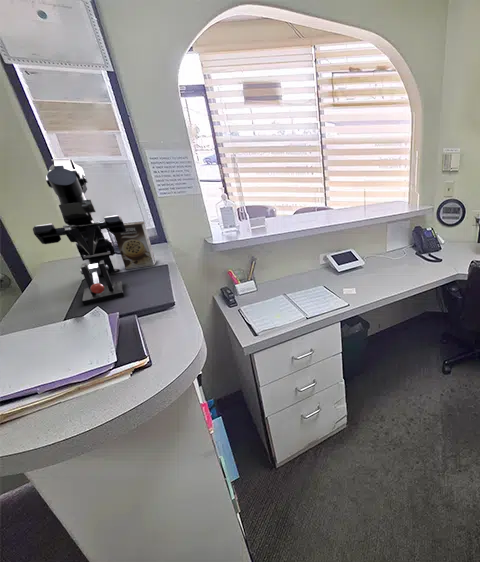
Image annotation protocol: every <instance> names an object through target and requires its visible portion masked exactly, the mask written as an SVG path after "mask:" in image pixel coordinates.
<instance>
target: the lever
mask: <svg viewBox="0 0 480 562" xmlns="http://www.w3.org/2000/svg"><path fill="white" fill-rule="evenodd" d="M87 267H88V270H89V272H90V274H91V277H92V280H93V283H94V284H93V285H92V286H91V287H90V290H91V291H92V292H93V293H96V294H99V293H102V292H103V291H104V286H103V285H104V284H102V283H101V281H100V276H99V275H100V274H101V270H100V267H99V265H98V263H96V264H90V263H89V264H88V265H87Z"/></svg>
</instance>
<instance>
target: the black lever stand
mask: <svg viewBox="0 0 480 562" xmlns="http://www.w3.org/2000/svg"><path fill="white" fill-rule="evenodd" d="M99 265H100V268H101V271H102V273H103V276H102V277H103V278H104V281H105V284H102V285H103V286H104V291H103V292H102V293H99V294H96V293H93V292H92V291H91V290H90V287H91V286H92V285H93V284H94V283H93V276H91V275H90V271H89V269H88V265H87V263H86V262H85V263H81V264H80V270H79V272H80V274H81V275H83V277H84V280H85V282H86V284H87V287H86V288H84V289H83V294H82V298H81V303H82V305H83V306H88V305H89V306H90V305H93V304H97V303H102V302H106V301H110V300H111V301H112V300H114V299H118V298H124V297H125V292H124V285H123V282H122V281H121V280H120V281H115V282H113V281H112V279H111V275H110V274H109V273H108V271H107V270H109V269H108V266H107V265H105V263H104V260H102V261H99Z"/></svg>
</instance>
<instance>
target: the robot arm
mask: <svg viewBox="0 0 480 562" xmlns="http://www.w3.org/2000/svg"><path fill="white" fill-rule="evenodd" d="M51 163H52V165H51V166H49V170H48V171H47V174H46V175H45V181H46V183H47V185H48V187H49V188H50V189H53V191H54V193H55V195H56V196H57V198H58V200H59V203H60V204H59V205H58V207H59V210H60V213H61V216H62V219H63V222H64V223H65V225H62V227H56V226H55V225H54V224H53V223H45V224H44V223H43V224H37V225H34V226H33V227H32V232H33V235H34V236H35V237H36V238H37V240H38V241H39V242H40V243H41V244H42V245H49V244H55V243H60V242H61V241H62V237H61V236H66V237H67V238H68V240H69V241H70V243H75V246H76V249H77V251H78V253H79V256H80V258H81V260H82V261H88V263H89V265H90V264H96V263H98V265H99V261H102V260H104V263H105V265H107V266H108V269H109V270H107V271H108V273H109V275H111V274H113V273H117V272H120V271H121V270H120V269H119V268H115V267H114V264H113V261H112V260H111V256H114V255H116V251H115V248H114V246H113V243H112V242H111V241H110V240H109V239H108V238H106V237H105V236H104V233H103V232H102V230H106V229H108V231H109V233H111V234H113V235H114V234H116V233H122V232H125V231H126V229H125V226H124V223H125V222H124V221H123V218H122V216H120V215H118V214H116V215H108V216H103V220H104V221H98V222H95V221H94V218H93V215H92V213H96V208H95V205H94V203H93V201H92V199H87V198H86V195H85V194H86V193H87V190H88V187H87V183H89V182H88V180H87V177H86V174H85V172H84V169H83V167H82V166H80V165H79V164H77V163H75V162H74V161H73V159H72V158H69V157H67V158H53V159H51ZM99 267H100V265H99ZM100 270H101V268H100ZM90 275H91V274H90ZM100 277H104V276H103V273H102V271H101V274H100V275H99V278H100Z"/></svg>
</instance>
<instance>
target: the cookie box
mask: <svg viewBox="0 0 480 562" xmlns="http://www.w3.org/2000/svg"><path fill="white" fill-rule="evenodd" d="M123 223H124V226H125V229H126V231H125V232H122V233H116V234H113V236H114V239H115V242H116V244H117V247H118V251H119V253H120V257H121V259H122V262H123V265H124V268H125V270H131V269H132V270H133V269H138V268H145V267H153V266H155V264H156V263H157V260H156V256H155V254H154V249H153V247H152V243H151V241H150V236H149V233H148V230H147V226H146V223H145V221H137V222H136V221H135V222H123Z"/></svg>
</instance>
